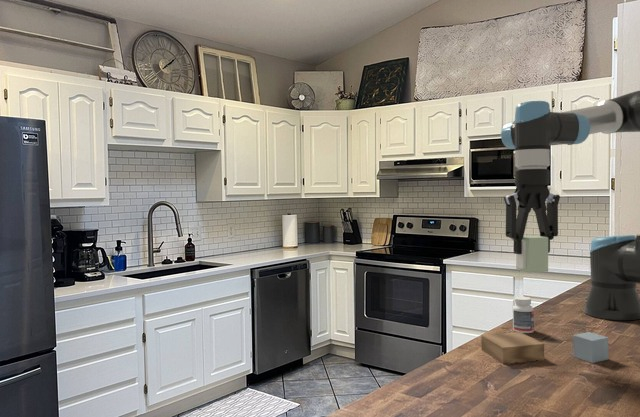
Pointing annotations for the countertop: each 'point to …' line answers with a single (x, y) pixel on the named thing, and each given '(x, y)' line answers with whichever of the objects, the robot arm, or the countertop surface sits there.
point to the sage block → (536, 254)
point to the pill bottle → (523, 315)
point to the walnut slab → (512, 347)
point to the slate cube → (590, 347)
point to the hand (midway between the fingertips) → (531, 267)
